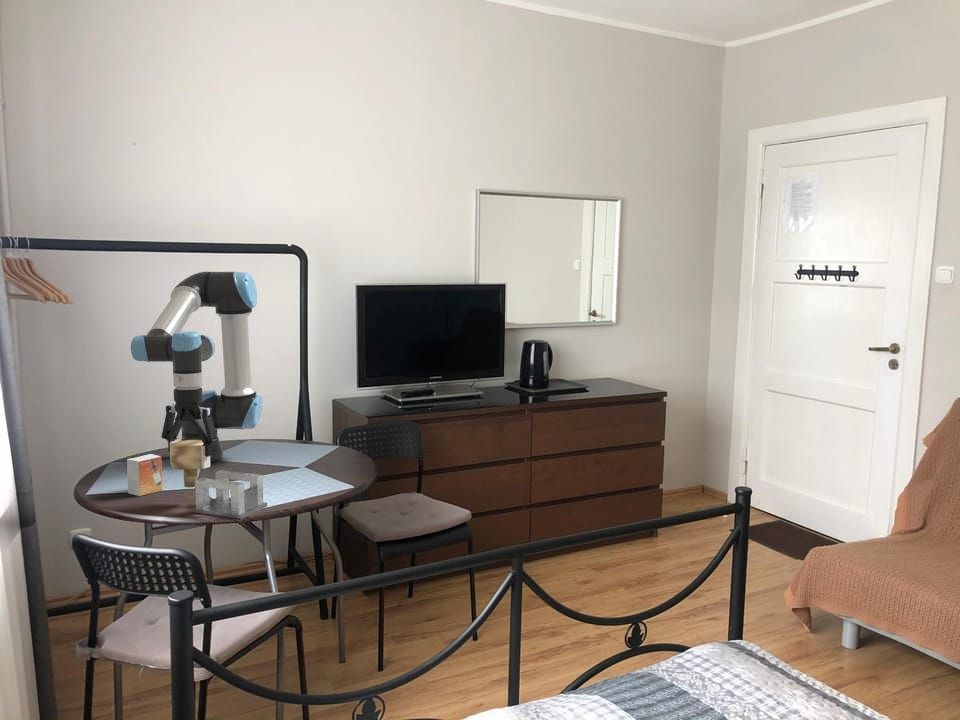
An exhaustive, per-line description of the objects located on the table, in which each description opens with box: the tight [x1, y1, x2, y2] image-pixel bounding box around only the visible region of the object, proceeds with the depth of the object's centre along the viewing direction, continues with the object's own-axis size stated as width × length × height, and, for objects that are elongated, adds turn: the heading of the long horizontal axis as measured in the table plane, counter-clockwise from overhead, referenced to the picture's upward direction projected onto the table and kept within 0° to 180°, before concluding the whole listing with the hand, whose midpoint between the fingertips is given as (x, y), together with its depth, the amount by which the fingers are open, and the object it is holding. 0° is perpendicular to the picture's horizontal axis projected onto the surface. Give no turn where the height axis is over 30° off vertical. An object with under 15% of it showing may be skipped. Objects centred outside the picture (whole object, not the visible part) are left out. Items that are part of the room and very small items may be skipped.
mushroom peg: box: [170, 440, 203, 488], centre depth 221 cm, size 10×10×12 cm
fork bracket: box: [191, 469, 268, 520], centre depth 217 cm, size 16×12×9 cm
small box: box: [126, 453, 163, 497], centre depth 232 cm, size 8×6×10 cm
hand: (190, 465), depth 221 cm, fingers closed on mushroom peg, 10 cm apart
